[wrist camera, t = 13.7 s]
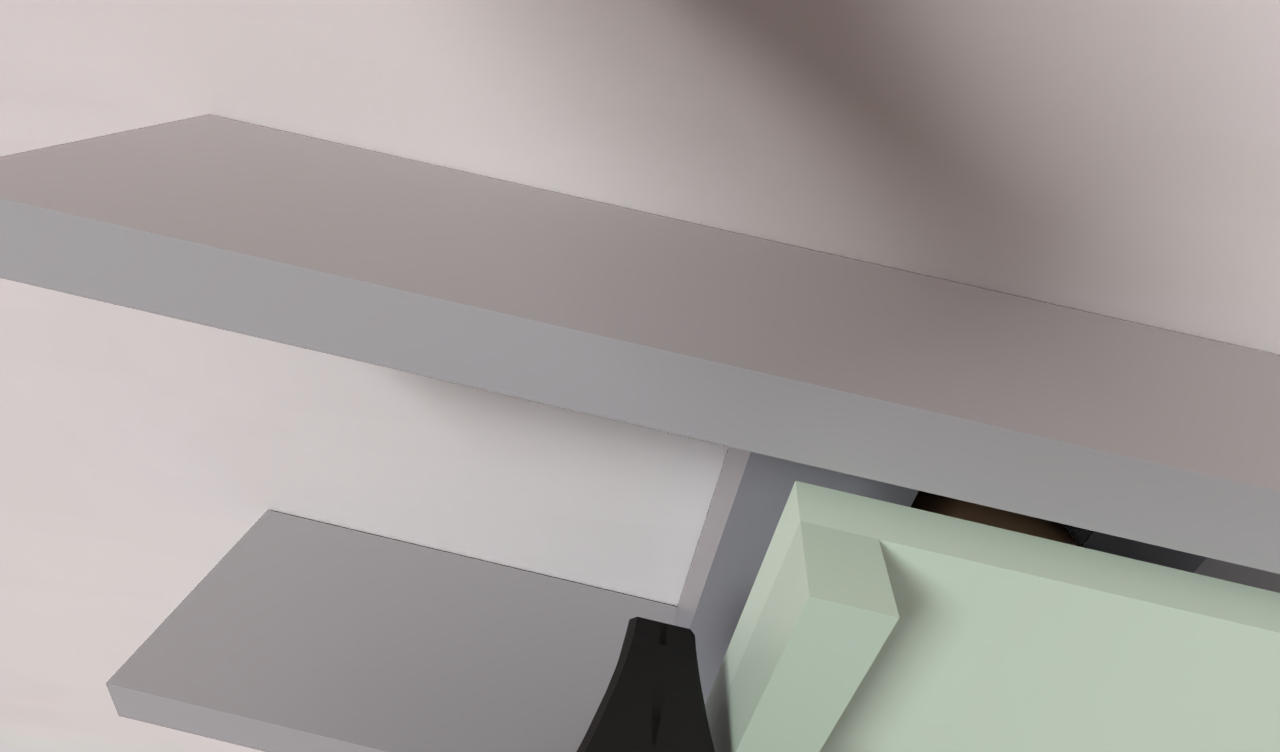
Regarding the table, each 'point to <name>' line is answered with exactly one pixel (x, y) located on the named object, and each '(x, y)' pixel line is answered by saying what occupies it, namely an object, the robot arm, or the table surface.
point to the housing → (610, 388)
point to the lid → (986, 643)
